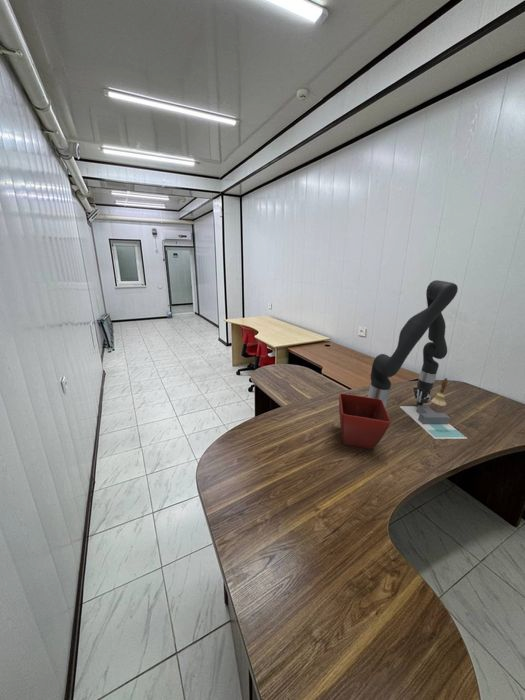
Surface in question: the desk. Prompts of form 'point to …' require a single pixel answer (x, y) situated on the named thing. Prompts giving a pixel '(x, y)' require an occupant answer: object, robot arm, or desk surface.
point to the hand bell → (440, 395)
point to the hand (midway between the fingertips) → (418, 407)
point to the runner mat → (412, 413)
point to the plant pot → (362, 420)
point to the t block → (431, 416)
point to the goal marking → (444, 431)
